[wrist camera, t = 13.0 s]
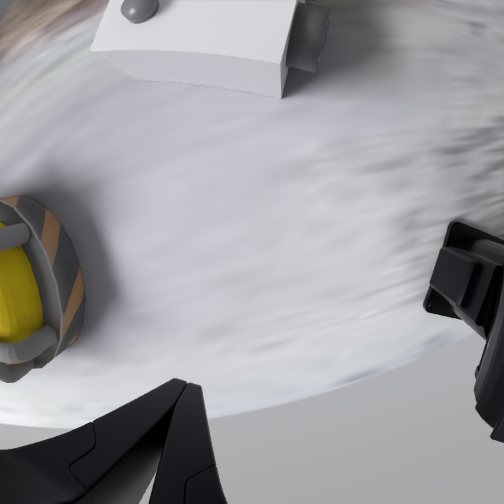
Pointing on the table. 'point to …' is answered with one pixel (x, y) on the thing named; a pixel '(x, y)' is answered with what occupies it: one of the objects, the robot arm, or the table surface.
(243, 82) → the block
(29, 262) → the cage light
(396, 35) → the table surface
